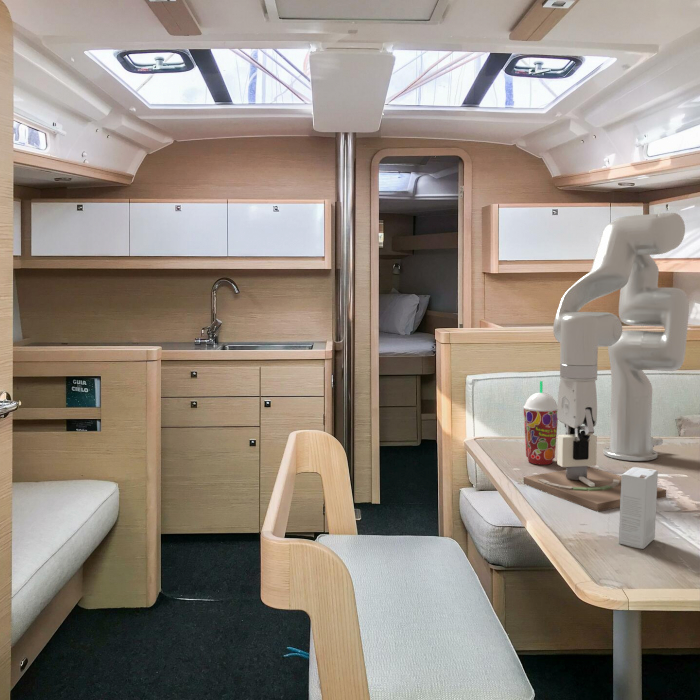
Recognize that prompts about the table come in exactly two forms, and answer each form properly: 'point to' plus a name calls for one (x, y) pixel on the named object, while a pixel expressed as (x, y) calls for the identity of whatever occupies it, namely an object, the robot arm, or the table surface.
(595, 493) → the tuner board
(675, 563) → the table surface
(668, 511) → the table surface
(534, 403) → the smoothie
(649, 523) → the skincare box
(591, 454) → the pointer knob
